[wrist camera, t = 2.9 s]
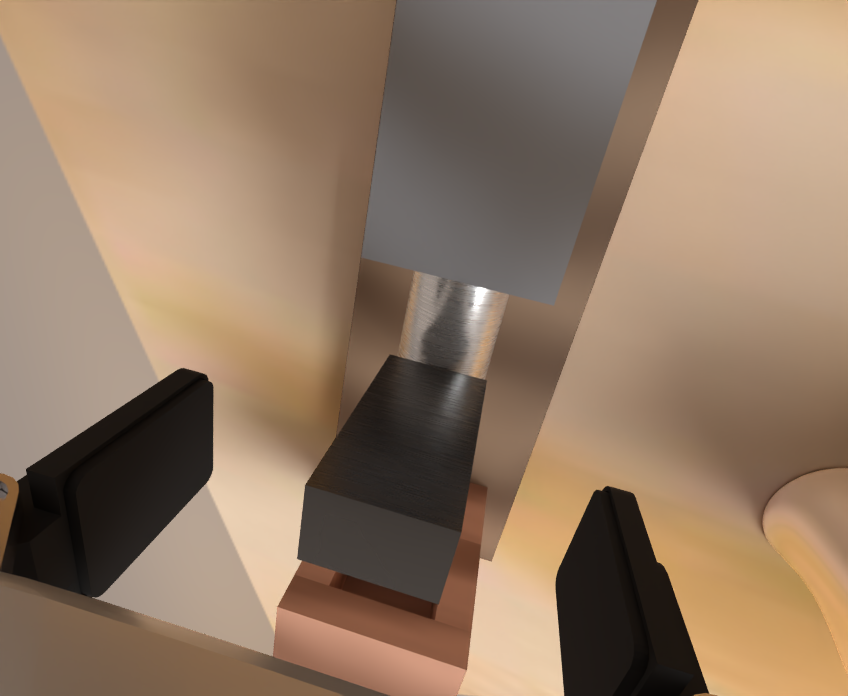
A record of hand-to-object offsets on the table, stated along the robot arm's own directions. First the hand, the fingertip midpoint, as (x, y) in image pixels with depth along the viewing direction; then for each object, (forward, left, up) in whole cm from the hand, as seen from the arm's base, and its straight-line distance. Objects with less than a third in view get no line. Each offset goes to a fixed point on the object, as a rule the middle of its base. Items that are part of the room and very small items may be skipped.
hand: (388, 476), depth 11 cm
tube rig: (0, 0, -13) cm, 13 cm away
